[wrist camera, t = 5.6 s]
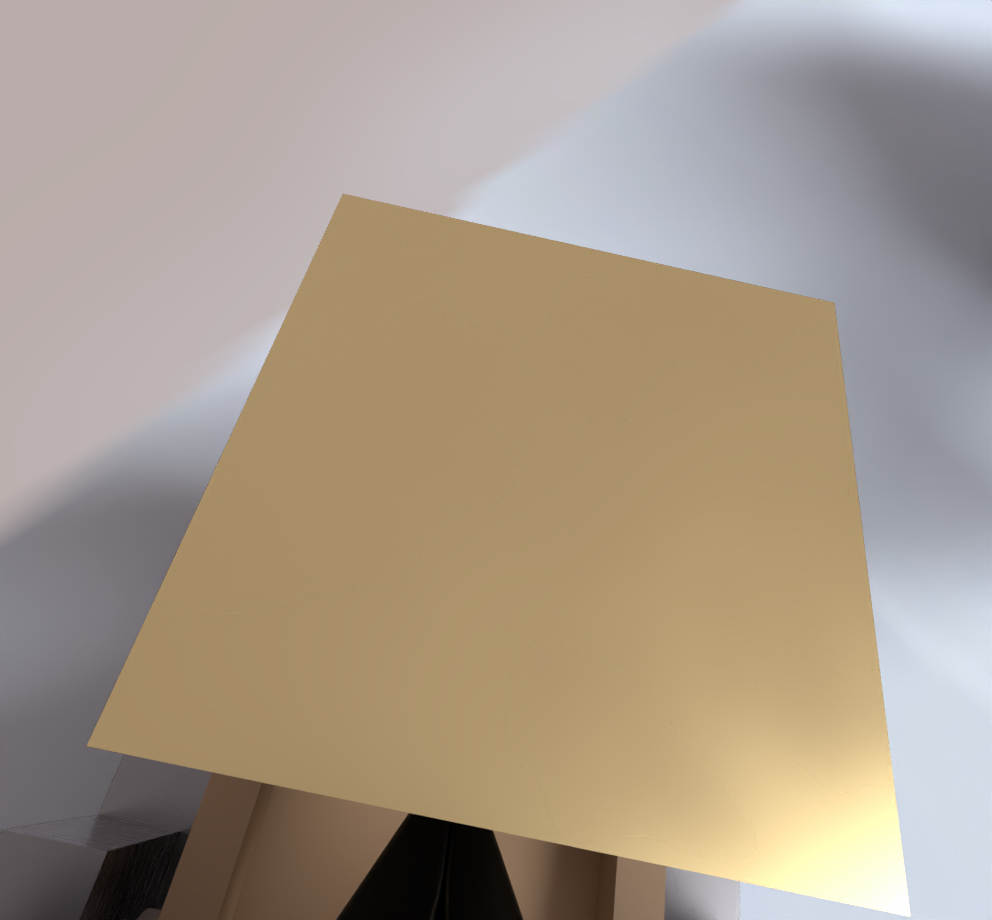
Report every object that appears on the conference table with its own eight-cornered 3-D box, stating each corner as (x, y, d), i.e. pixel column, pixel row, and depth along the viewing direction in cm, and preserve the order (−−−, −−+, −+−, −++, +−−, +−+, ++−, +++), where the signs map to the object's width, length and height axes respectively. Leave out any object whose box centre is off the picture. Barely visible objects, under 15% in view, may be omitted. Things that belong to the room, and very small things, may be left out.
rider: (584, 821, 11) (911, 917, 4) (308, 764, 11) (87, 746, 4) (609, 557, 13) (834, 303, 6) (384, 509, 13) (342, 194, 6)
